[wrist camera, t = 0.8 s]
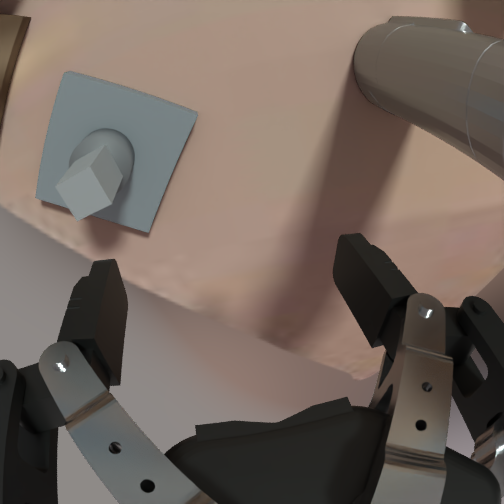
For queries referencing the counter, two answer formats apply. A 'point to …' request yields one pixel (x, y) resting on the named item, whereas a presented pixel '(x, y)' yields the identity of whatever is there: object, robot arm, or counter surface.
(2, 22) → the stand
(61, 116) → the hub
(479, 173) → the counter surface
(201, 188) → the counter surface
